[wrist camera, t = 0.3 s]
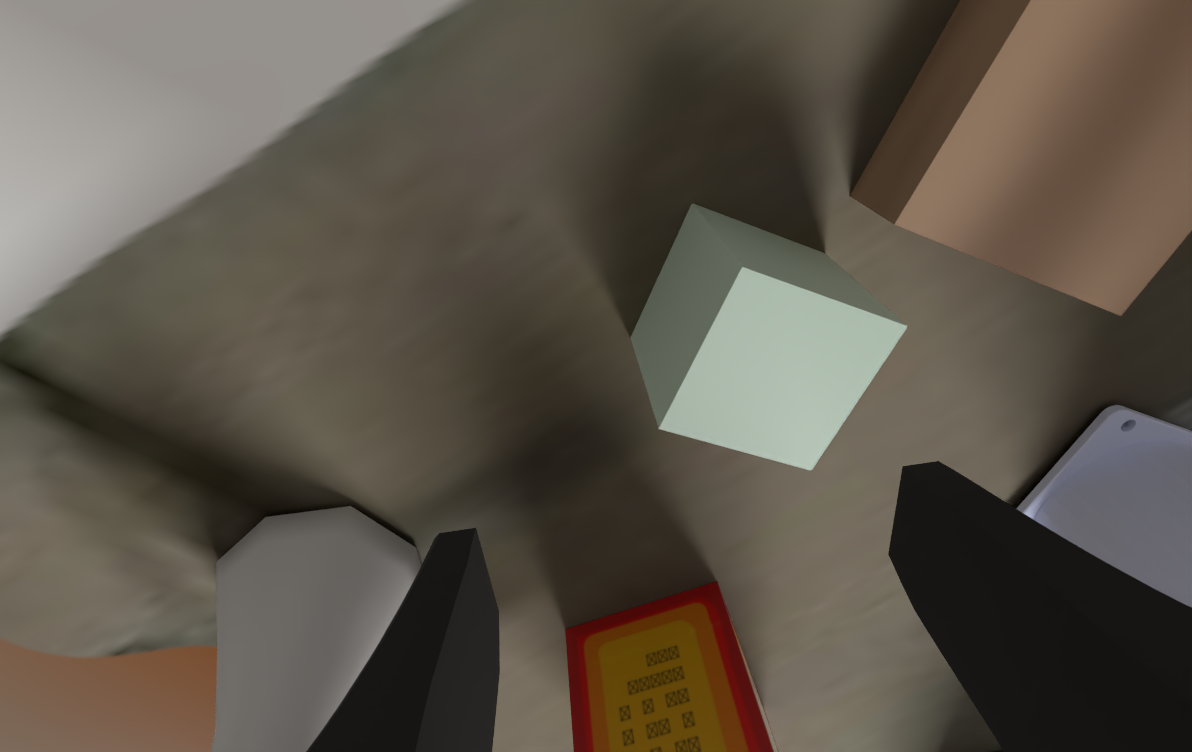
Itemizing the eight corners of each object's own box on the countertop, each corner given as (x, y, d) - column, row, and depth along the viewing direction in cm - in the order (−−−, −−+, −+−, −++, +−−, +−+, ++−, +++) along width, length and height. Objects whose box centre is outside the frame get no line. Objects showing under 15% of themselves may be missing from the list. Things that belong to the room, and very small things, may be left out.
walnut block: (1244, 13, 18) (1366, 19, 15) (1048, 276, 21) (1121, 315, 19) (1021, -125, 16) (1119, -145, 13) (844, 192, 19) (894, 224, 17)
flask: (306, 663, 27) (206, 981, 18) (180, 548, 23) (-19, 879, 15) (465, 601, 26) (439, 906, 17) (360, 472, 22) (260, 776, 14)
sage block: (824, 252, 20) (907, 326, 16) (754, 375, 22) (811, 470, 18) (691, 202, 19) (741, 266, 14) (630, 336, 21) (658, 428, 16)
